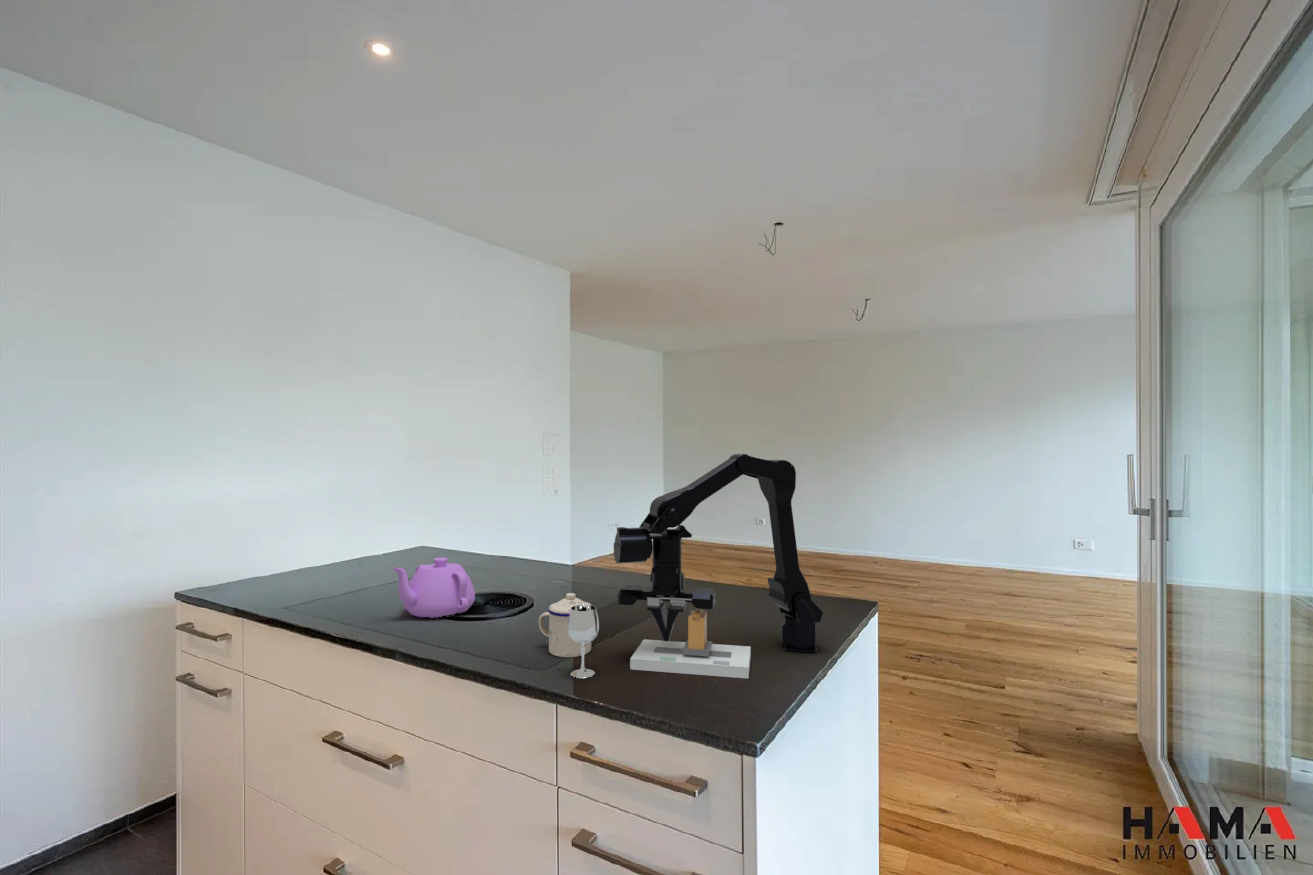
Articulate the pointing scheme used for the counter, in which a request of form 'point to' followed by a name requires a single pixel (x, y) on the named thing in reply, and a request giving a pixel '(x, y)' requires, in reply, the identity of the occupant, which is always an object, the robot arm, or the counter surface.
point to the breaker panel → (692, 659)
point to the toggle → (697, 634)
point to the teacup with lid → (562, 628)
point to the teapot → (436, 589)
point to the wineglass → (583, 632)
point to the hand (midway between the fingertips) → (666, 640)
